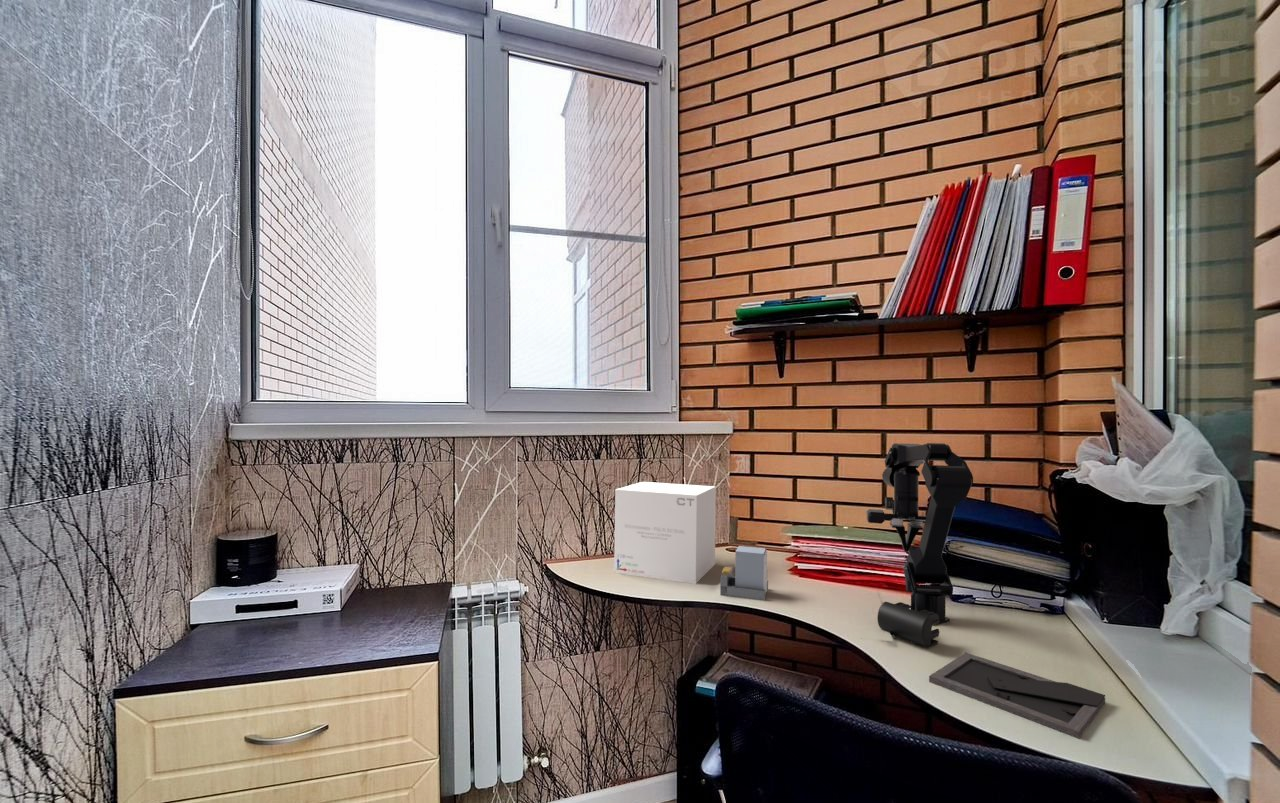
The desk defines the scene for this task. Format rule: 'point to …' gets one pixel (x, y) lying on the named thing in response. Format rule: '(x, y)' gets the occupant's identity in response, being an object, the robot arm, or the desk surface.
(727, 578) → the rack deck
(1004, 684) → the picture frame
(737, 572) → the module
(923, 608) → the robot arm
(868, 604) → the desk surface
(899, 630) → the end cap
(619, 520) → the cube
